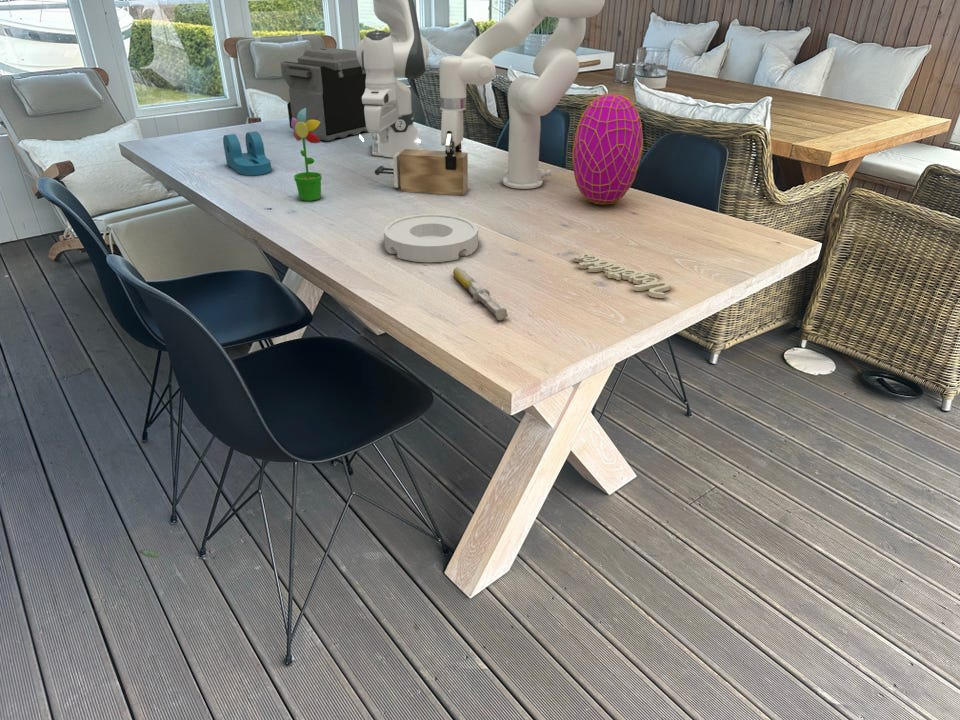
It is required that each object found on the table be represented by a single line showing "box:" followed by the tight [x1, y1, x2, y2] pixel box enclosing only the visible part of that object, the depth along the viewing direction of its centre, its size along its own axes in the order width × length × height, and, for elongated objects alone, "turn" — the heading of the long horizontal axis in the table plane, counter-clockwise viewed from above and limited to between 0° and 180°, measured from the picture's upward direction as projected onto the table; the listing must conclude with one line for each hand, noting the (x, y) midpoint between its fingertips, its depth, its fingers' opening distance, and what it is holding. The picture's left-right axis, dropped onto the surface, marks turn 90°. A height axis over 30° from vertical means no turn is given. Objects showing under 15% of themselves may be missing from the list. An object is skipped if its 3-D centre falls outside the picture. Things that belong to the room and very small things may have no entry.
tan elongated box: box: [399, 149, 469, 196], centre depth 208 cm, size 20×6×11 cm, turn 79°
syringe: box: [452, 266, 509, 321], centre depth 145 cm, size 25×4×3 cm, turn 21°
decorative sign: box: [574, 252, 671, 299], centre depth 155 cm, size 26×1×10 cm
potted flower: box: [291, 108, 323, 202], centre depth 196 cm, size 9×8×25 cm
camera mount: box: [222, 131, 272, 176], centre depth 226 cm, size 18×10×10 cm, turn 35°
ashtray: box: [383, 213, 479, 263], centre depth 170 cm, size 23×23×4 cm
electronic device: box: [279, 47, 369, 142], centre depth 271 cm, size 37×22×30 cm, turn 144°
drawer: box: [374, 152, 401, 188], centre depth 209 cm, size 25×5×9 cm, turn 79°
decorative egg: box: [571, 92, 644, 205], centre depth 194 cm, size 19×19×30 cm
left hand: (384, 142), depth 206 cm, fingers closed
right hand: (453, 165), depth 206 cm, fingers closed on tan elongated box, 6 cm apart
